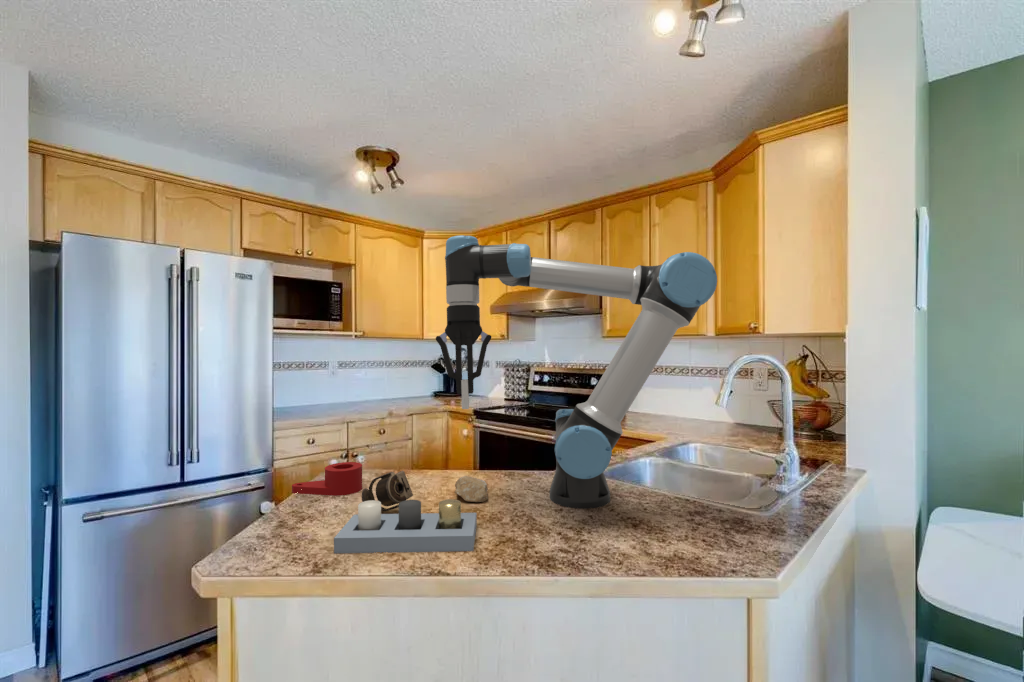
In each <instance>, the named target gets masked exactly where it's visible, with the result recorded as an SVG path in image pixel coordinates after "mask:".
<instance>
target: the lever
mask: <svg viewBox="0 0 1024 682" xmlns="http://www.w3.org/2000/svg"><path fill="white" fill-rule="evenodd" d="M301 489H302V490H301ZM362 490H363V464H362V463H361V462H355V461H345V462H336V463H331V464H329V465H326V466H325V467H324V480H315V481H314V480H313V481H303V482H302V481H301V482H296V483H292V484H291V493H292V494H295V493H297V492H298V493H297V494H298V495H311V496H312V495H314V496H315V495H316V496H334V497H339V496H340V497H341V496H348V495H354V494H357V493H359V492H362ZM297 494H296V495H297Z"/></svg>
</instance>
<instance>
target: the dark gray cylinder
mask: <svg viewBox="0 0 1024 682" xmlns="http://www.w3.org/2000/svg"><path fill="white" fill-rule="evenodd" d="M398 505H399V507H398V514H399V530H420V529H421V513H422V501H420V500H418V499H407V500H405V501H402V502H400V503H398Z"/></svg>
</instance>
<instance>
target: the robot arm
mask: <svg viewBox="0 0 1024 682" xmlns="http://www.w3.org/2000/svg"><path fill="white" fill-rule="evenodd" d="M444 261H445V280H446V283H445V284H446V285H445V290H446V291H445V292H446V293H445V294H446V295H445V296H446V297H445V298H446V303H447V305H448V306H447V307H446V327H445V329H444V332H443V333H440V335H437V336H436V337H435V341H436V342H437V344H438V345H439V346H440V349H441V354H442V359H443V361H444V364H445V368H446V369H445V370H446V372H447V376H448V378H451V379H454V380H455V381H456V382H455V383H456V394H457V395H461V409H462V410H469V409H470V399H469V398H470V397H469V396H470V395H472V394H473V393H474V380H475V379H476V378H478V377H479V378H480V377H481V375H482V370H483V367H484V361H485V357H486V352H487V347H488V344H489V343H490V341H491V340H492V335H491V334H488V333H486V332H485V331H483V328H482V326H481V314H480V313H481V311H480V306H479V303H480V280H481V279H484V280H485V279H498V280H499V281H500V282H501V283H502V284H503V285H505V286H509V287H517V286H519V287H526V288H527V287H531V288H538V289H544V290H545V289H546V290H554V291H559V292H560V291H561V292H566V293H567V292H568V293H576V294H582V295H583V294H585V295H593V296H600V297H608V298H617V299H623V300H628V301H630V303H631V304H632V305H640V306H641V311H640V312H639V313H638V316H637V317H636V319H635V321H634V322H633V324H632V325H631V328H630V329H629V331H628V332H627V334H626V336H625V337H624V338H623V341H622V343H620V345H619V347H618V349H617V351H616V353H615V354H614V356H613V357H612V359H611V361H609V364H608V366H607V368H606V369H605V371H604V372H603V373H602V376H601V377H600V379H599V381H598V383H597V384H596V386H595V387H594V389H593V390H592V392H591V394H590V395H589V397H588V399H587V400H586V401H585V402H581V403H580V402H579V403H577V404H576V405H575V407H574V408H559V409H558V410H557V411H556V412H555V419H554V421H555V444H554V455H555V460H556V461H555V463H556V467H555V472H554V475H553V479H552V482H551V485H550V487H549V488H550V489H549V500H550V501H551V503H554V504H556V505H558V506H561V507H564V508H571V509H579V510H580V509H587V510H588V509H596V508H601V507H604V506H606V505H608V504H610V502H611V492H610V488H609V485H608V482H607V479H606V475H605V471H606V470H607V468H608V467H609V465H610V462H611V460H612V455H613V452H612V451H613V449H614V448H615V446H616V444H617V443H618V442H619V439H620V438H621V436H622V435H623V433H624V431H623V429H622V421H623V419H624V418H625V416H626V414H627V413H628V411H629V409H630V407H631V406H632V405H633V403H634V401H635V400H636V398H637V396H638V394H639V393H640V391H641V389H642V388H643V386H644V385H645V383H646V381H647V380H648V378H649V376H650V375H651V374H652V372H653V370H654V368H655V367H656V365H657V364H658V362H659V360H660V358H661V357H662V355H663V354H664V352H665V350H666V349H667V347H668V345H669V344H670V342H671V341H672V339H673V337H674V336H675V334H676V332H677V331H678V329H681V328H684V327H687V326H689V325H690V323H691V322H692V320H693V319H694V317H695V315H696V313H697V312H698V310H699V309H700V307H701V306H702V305H705V303H707V302H708V301H709V300H710V299H711V298H712V297H713V295H714V294H715V291H716V289H717V285H718V284H717V283H718V275H717V272H716V269H715V267H714V265H713V264H712V263H711V262H710V260H709V259H707V258H706V257H705V256H703V255H702V254H699V253H696V252H693V251H685V252H680V253H679V252H678V253H675V254H673V255H671V256H669V257H667V258H666V260H665V261H664V262H663V263H662V264H658V265H642V264H641V265H640V264H639V265H637V266H636V267H634V268H629V267H623V266H622V267H621V266H612V265H605V264H595V263H587V262H577V261H571V260H570V261H569V260H560V259H550V258H544V257H543V258H542V257H535V256H534V257H533V256H531V247H530V246H529V245H528V244H526V243H516V242H513V243H507V244H505V243H504V244H488V245H485V244H484V245H482V244H480V243H479V240H478V238H477V237H475V236H472V235H464V234H463V235H454V236H451V237H449V238H447V239H446V242H445V256H444ZM447 337H448V339H449V340H450V341H451V343H452V344H453V345H454V346H455V372H454V369H453V364H452V360H451V357H450V353H449V349H448V346H447V344H446V343H447V341H448V339H447ZM479 337H481V338H480V341H481V342H482V344H481V347H480V352H479V357H478V361H477V365H476V369H475V371H474V354H473V352H474V350H473V348H474V347H473V345H474V344H475V343H476V342H477V340H478V339H479ZM463 346H466V358H467V359H466V360H467V361H466V367H467V370H466V371H467V378H466V379H465V378H464V379H463V369H462V368H463V363H462V362H463V360H462V356H463V355H462V347H463Z"/></svg>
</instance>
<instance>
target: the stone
mask: <svg viewBox="0 0 1024 682" xmlns="http://www.w3.org/2000/svg"><path fill="white" fill-rule="evenodd" d="M454 486H455V487H454V488H455V490H454V494H456V495H458V496H460V497H461V498H462V499H463V500H464V501H465V502H471V503H480V502H481V503H484V502H486V501H487V500H488V499H489V495H488V490H489V489H488V484H487V482H486V481H485V480H483V479H480V478H477V477H473V476H468V475H464V476H460V477H459V478H458V479H457V480H456V481H455V483H454Z"/></svg>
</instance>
